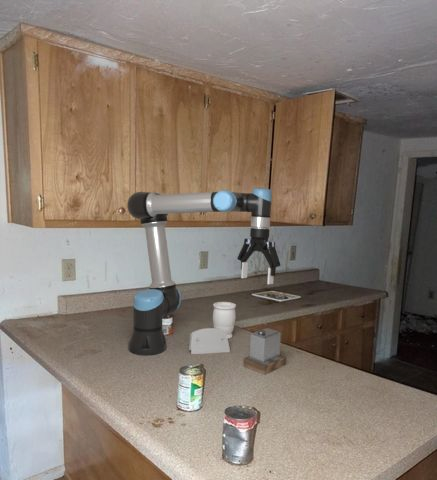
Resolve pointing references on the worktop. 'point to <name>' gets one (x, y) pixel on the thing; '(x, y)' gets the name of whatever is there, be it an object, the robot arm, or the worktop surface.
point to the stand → (264, 364)
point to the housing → (265, 345)
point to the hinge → (208, 341)
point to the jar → (224, 317)
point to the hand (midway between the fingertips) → (256, 280)
